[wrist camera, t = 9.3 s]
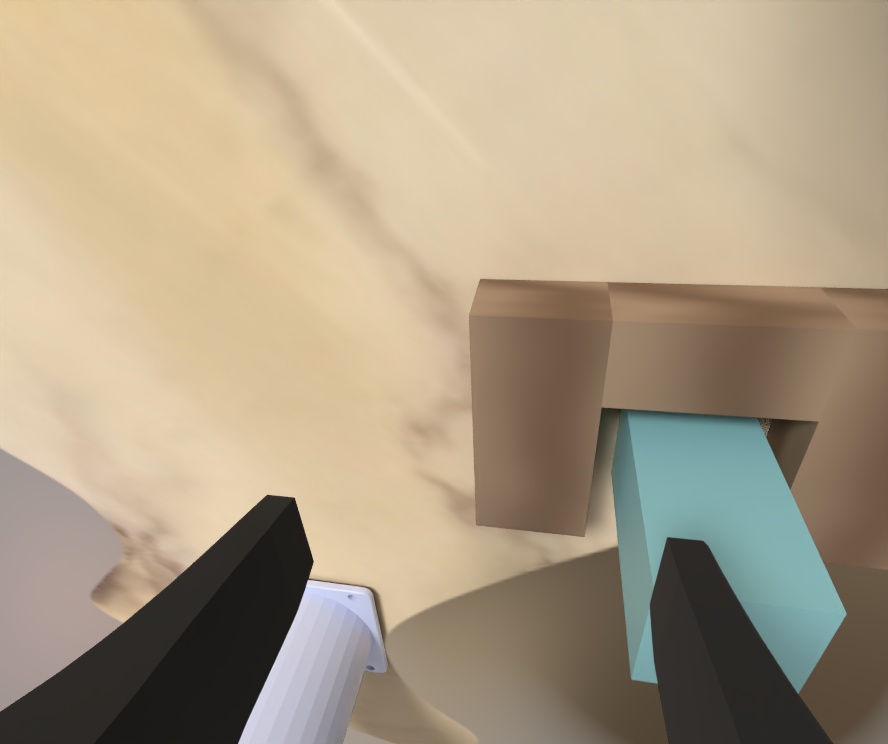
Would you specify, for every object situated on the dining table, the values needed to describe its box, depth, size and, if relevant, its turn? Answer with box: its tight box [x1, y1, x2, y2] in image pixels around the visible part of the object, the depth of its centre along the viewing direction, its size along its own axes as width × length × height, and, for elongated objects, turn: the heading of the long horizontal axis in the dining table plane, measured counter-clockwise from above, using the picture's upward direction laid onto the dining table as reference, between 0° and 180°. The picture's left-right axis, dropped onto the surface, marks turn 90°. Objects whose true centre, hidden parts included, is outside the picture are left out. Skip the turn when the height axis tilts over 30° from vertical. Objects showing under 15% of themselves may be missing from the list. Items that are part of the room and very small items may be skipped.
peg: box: [611, 409, 846, 694], centre depth 17 cm, size 4×4×8 cm
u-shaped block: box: [469, 279, 888, 570], centre depth 18 cm, size 14×9×2 cm, turn 93°
